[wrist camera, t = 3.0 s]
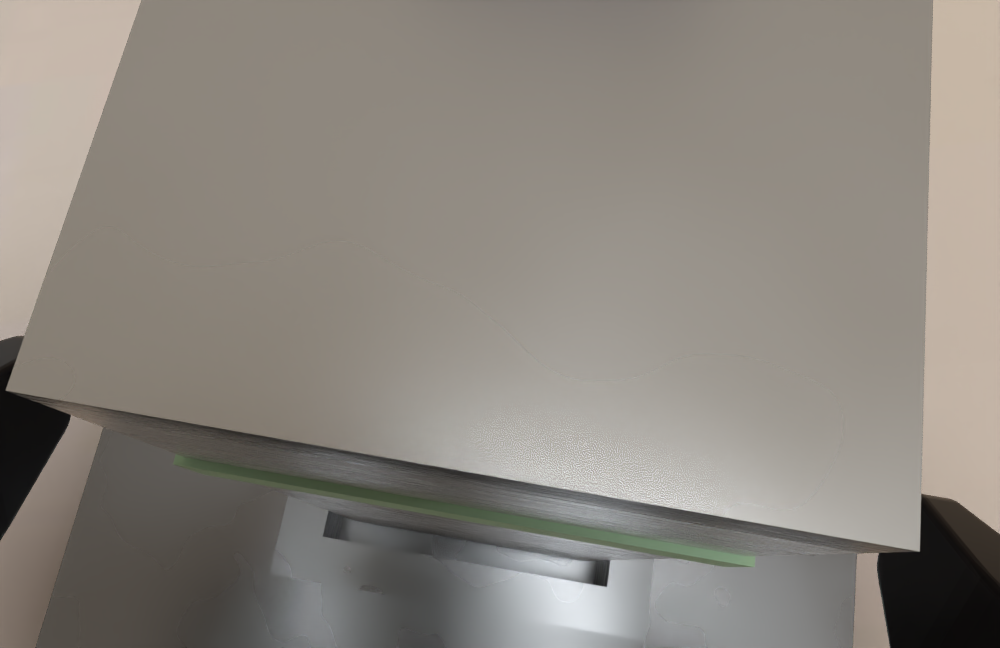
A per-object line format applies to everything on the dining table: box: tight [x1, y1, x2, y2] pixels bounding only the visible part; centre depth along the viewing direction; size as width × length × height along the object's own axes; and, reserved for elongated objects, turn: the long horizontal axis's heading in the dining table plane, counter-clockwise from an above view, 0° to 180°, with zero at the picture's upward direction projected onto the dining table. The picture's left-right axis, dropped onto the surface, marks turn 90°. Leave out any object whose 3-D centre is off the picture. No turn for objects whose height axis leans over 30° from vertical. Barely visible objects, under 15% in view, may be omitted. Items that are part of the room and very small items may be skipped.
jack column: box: [6, 0, 933, 567], centre depth 11 cm, size 5×5×13 cm
